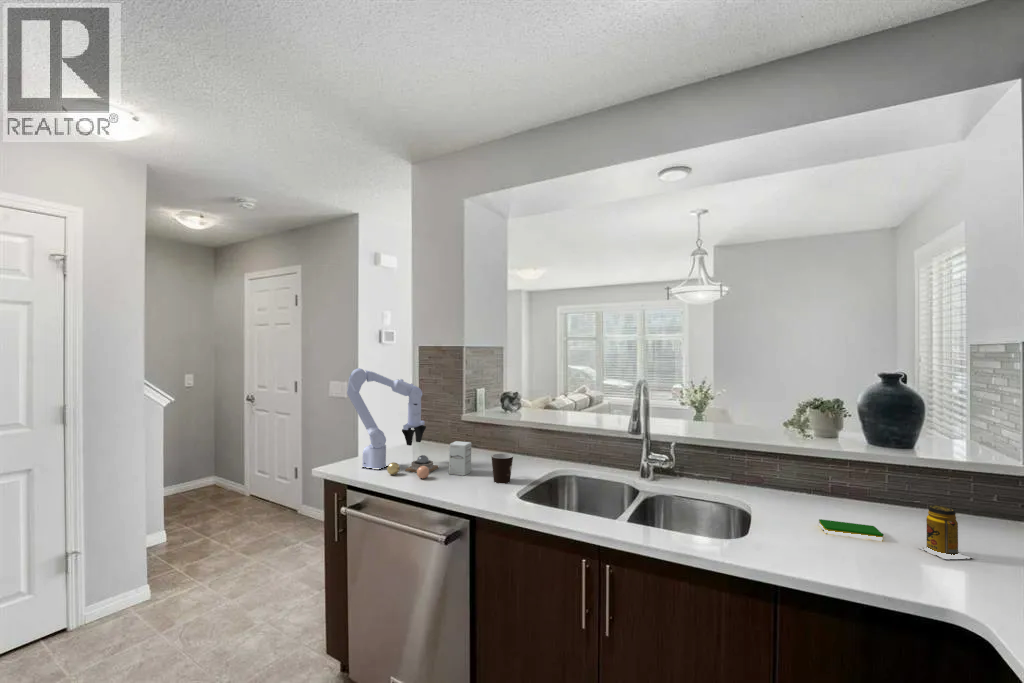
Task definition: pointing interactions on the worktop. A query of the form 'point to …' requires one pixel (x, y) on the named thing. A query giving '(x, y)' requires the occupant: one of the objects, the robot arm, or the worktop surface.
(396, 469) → the brass ball
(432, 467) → the race board
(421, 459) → the steel ball
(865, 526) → the dish sponge
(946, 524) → the condiment
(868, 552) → the worktop surface
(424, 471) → the terracotta ball
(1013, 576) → the worktop surface
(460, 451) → the supplement box
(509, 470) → the coffee mug
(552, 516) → the worktop surface
